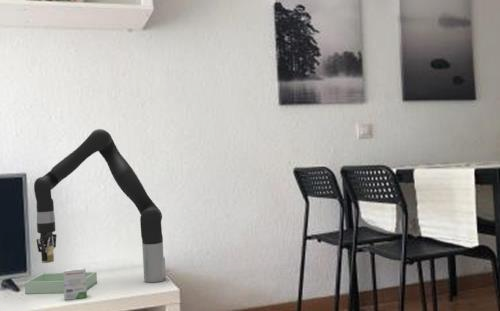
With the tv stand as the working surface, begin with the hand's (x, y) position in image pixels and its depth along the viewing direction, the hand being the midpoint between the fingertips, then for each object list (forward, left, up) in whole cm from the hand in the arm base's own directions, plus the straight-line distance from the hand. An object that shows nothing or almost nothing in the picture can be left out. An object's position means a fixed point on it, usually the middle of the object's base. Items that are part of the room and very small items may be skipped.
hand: (47, 259), depth 226 cm
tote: (-6, 0, -13) cm, 14 cm away
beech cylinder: (0, 0, -1) cm, 1 cm away
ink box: (-19, +15, -13) cm, 28 cm away
